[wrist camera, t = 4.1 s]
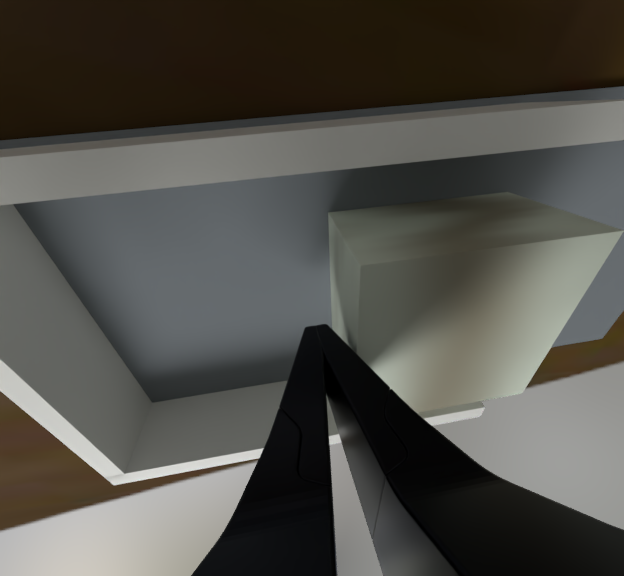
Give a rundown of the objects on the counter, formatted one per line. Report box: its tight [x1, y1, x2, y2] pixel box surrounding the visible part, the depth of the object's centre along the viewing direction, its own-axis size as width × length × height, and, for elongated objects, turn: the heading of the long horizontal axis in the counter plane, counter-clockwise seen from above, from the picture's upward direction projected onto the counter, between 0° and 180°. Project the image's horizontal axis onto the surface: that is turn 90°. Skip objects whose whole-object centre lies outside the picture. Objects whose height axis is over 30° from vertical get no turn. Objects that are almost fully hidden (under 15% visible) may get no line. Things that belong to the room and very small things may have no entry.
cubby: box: [0, 99, 624, 485], centre depth 10 cm, size 17×13×4 cm
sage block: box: [328, 192, 624, 413], centre depth 10 cm, size 7×7×4 cm
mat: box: [0, 86, 624, 403], centre depth 12 cm, size 29×13×1 cm, turn 94°
